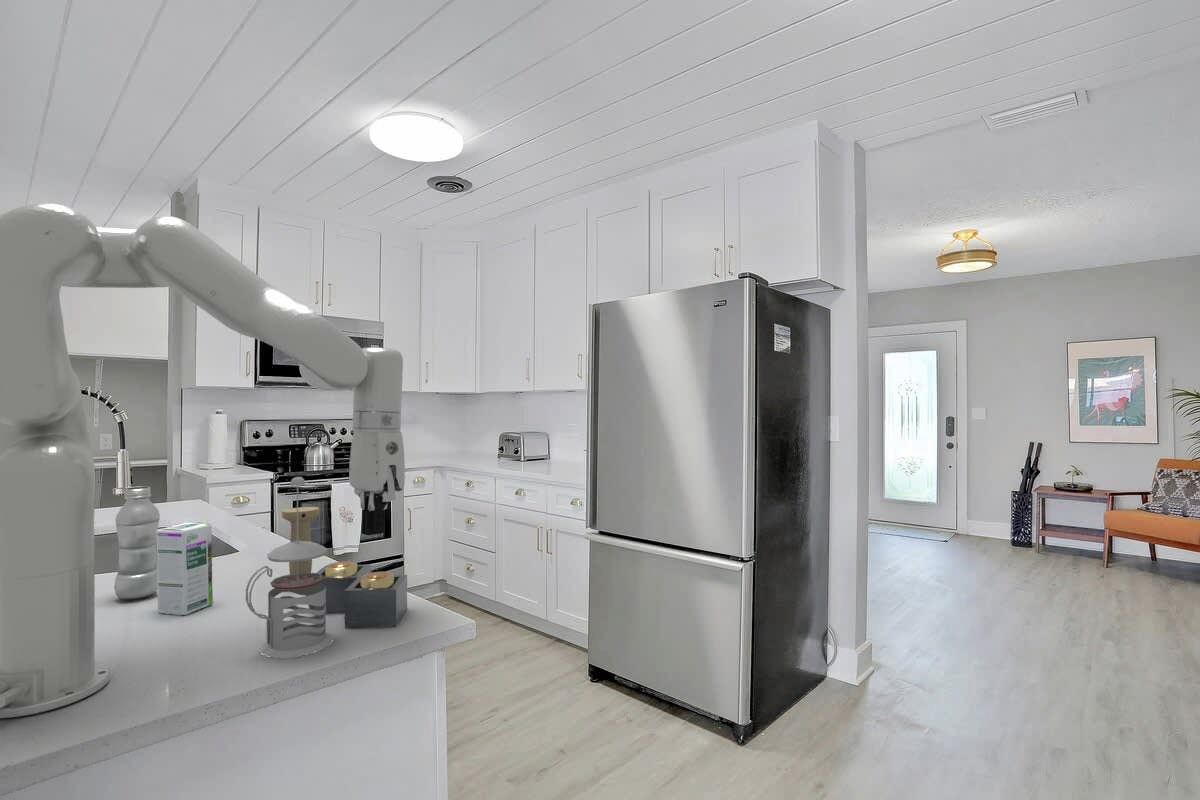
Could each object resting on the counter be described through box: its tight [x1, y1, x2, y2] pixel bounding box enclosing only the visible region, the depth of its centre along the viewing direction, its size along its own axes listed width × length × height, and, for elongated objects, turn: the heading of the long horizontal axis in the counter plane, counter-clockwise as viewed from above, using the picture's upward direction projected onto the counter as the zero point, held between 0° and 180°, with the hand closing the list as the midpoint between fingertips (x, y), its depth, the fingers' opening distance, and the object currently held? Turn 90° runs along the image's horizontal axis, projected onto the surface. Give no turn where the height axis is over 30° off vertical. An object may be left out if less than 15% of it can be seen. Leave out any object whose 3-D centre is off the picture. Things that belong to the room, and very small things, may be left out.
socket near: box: [344, 574, 408, 629], centre depth 102 cm, size 8×8×6 cm
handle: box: [281, 506, 320, 575], centre depth 118 cm, size 5×6×15 cm
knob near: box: [361, 571, 395, 588], centre depth 102 cm, size 5×5×6 cm
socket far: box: [308, 564, 372, 614], centre depth 108 cm, size 8×8×6 cm
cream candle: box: [324, 560, 358, 577], centre depth 108 cm, size 5×5×6 cm
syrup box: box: [156, 521, 214, 616], centre depth 106 cm, size 6×6×14 cm
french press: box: [245, 476, 334, 659], centre depth 91 cm, size 10×12×25 cm
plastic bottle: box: [113, 485, 161, 600], centre depth 112 cm, size 6×7×20 cm
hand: (372, 533), depth 101 cm, fingers closed
